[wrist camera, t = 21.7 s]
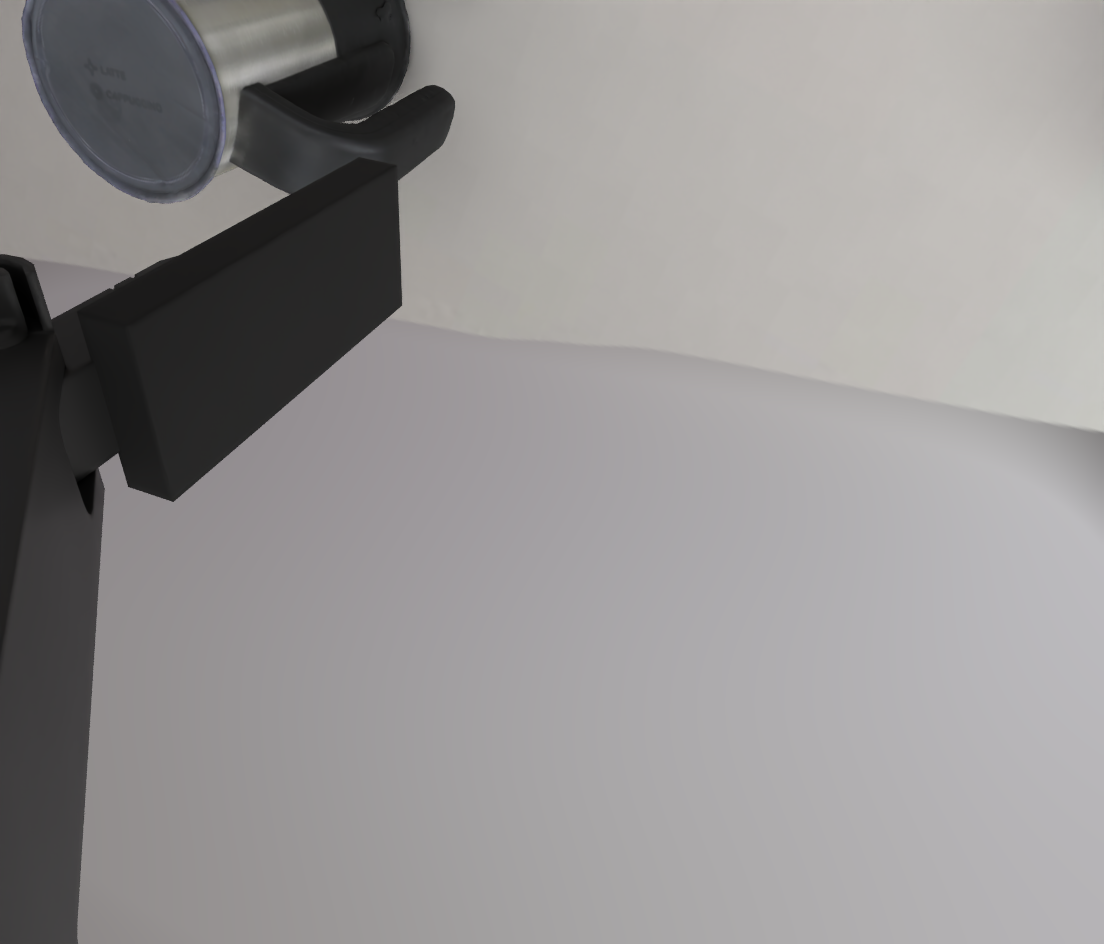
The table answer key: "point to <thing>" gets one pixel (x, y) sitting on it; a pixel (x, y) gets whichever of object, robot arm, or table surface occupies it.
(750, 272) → the table surface
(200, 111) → the milk frother
